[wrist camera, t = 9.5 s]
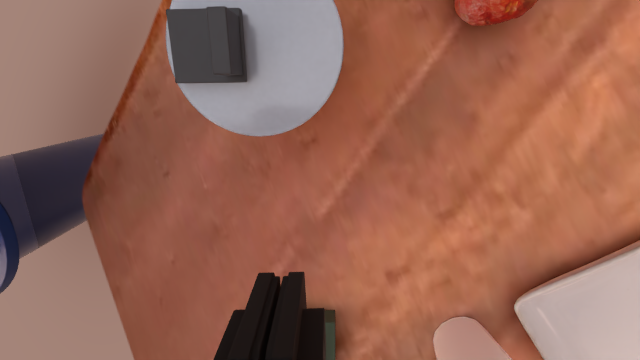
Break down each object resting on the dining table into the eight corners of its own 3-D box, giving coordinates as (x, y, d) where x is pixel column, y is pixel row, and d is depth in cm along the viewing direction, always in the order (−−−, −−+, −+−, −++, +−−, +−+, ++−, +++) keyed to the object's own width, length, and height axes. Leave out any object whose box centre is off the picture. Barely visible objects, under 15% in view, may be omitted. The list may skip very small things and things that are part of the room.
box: (255, 363, 42) (248, 391, 38) (251, 309, 40) (242, 334, 36) (335, 363, 42) (335, 392, 38) (334, 309, 39) (335, 334, 35)
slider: (179, 83, 20) (154, 83, 17) (170, 11, 19) (142, -2, 16) (247, 82, 20) (234, 82, 17) (242, 9, 19) (226, -4, 16)
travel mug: (230, 118, 33) (177, 137, 22) (219, -2, 30) (150, -55, 19) (338, 117, 33) (343, 135, 21) (338, -5, 30) (344, -60, 18)
